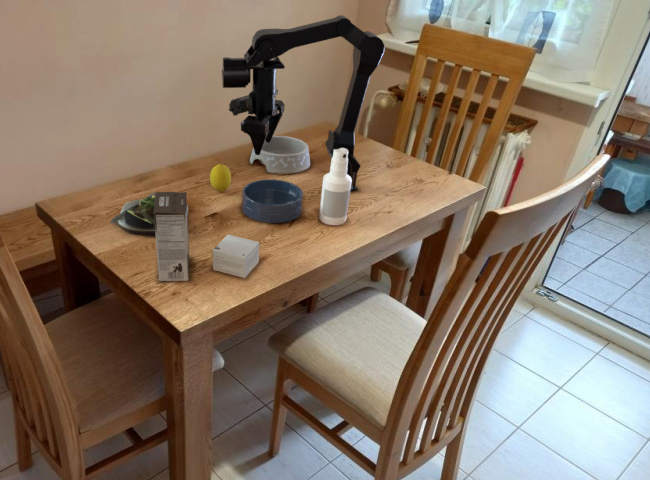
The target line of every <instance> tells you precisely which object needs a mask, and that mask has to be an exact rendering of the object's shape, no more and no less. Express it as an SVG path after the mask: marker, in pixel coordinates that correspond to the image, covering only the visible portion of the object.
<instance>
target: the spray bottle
mask: <svg viewBox="0 0 650 480" xmlns="http://www.w3.org/2000/svg"><path fill="white" fill-rule="evenodd" d="M330 160H331V162H330V167H329V172H327V173H326V174H324V175H323V177H322V185H321V195H320V204H319V213H318V218H319V221H320V222H321V223H323V224H324V225H328V226H340V225H341V226H342V225H343V224H345V223H346V222H347V220H348V219H347V218H348V210H349V203H350V197H351V192H350V190H351V183H352V179H351V177H350V176H349V175H347V166H348V150H347V149H345V148H340V149H334V151H333V157H332V159H330Z"/></svg>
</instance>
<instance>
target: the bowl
mask: <svg viewBox="0 0 650 480" xmlns="http://www.w3.org/2000/svg"><path fill="white" fill-rule="evenodd" d="M303 202H304V191H303V189H302V188H301V187H299V185H297V184H295V183H293V182H290V181H286V180H282V179H276V178H275V179H274V178H271V179H269V178H268V179H267V178H266V179H257V180H254V181H250V182H249V183H247V184H246V185H244V186H243V188H242V190H241V211H242V212H243V214H244V215H245V216H246V217H248V218H250V219H251V220H253V221H254V220H255V221H258V222H261V223H267V224H268V223H269V224H280V223H288V222H291V221H294V220H296V219H297V218H298V217H300V216H301V215H302V212H303V204H304V203H303Z"/></svg>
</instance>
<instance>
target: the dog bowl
mask: <svg viewBox="0 0 650 480" xmlns="http://www.w3.org/2000/svg"><path fill="white" fill-rule="evenodd" d="M310 157H311V156H310V149H309V145H308V144H307V142H305V141H304V140H301V139H299V138H296V137H293V136H286V135H273V137H272V139H271V141H270V143H268V142H266V140H265V142H264V145H263V148H262V150H261V153H260V155H256V154H255V151H254V148H253V147H252V150H251V154H250V157H249V163H250V164H251V165H253V163H254V162H255V160H258V161H259V162H260V163H261V164H262V165H264V166H265V168H266V171H267V172H268V173H271V174H283V175H284V174H287V175H289V174H296V173H300V172H304V171H306V170H308V169H309V168H310V167H311V159H310Z"/></svg>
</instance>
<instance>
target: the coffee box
mask: <svg viewBox="0 0 650 480" xmlns="http://www.w3.org/2000/svg"><path fill="white" fill-rule="evenodd" d="M154 193H155V204H154V220H155V233H156V236H155V244H156V257H157V259H156V260H157V271H158V272H157V273H158V281H159V282H188V281H189V280H190V243H189V241H190V240H189V217H188V216H189V215H188V216H187V206H188V199H187V192H186V191H181V192H180V191H178V192H176V191H156V192H154Z"/></svg>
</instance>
